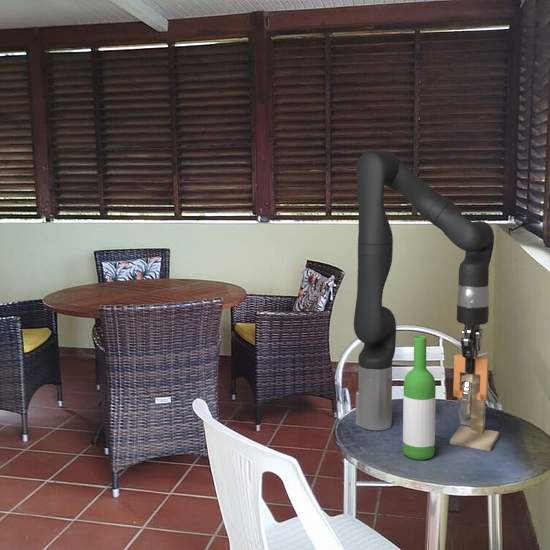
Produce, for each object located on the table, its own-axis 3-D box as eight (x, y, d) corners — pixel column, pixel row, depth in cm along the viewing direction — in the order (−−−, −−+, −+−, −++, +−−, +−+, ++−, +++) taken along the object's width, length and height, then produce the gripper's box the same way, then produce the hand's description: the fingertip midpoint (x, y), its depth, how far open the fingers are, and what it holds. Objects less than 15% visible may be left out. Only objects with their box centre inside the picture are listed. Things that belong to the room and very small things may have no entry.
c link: (453, 396, 168) (454, 355, 166) (455, 394, 169) (456, 353, 168) (485, 401, 164) (487, 359, 162) (487, 398, 165) (488, 357, 164)
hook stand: (447, 448, 169) (448, 371, 166) (460, 429, 181) (462, 358, 178) (487, 455, 164) (490, 377, 161) (498, 435, 176) (500, 362, 174)
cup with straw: (452, 416, 191) (454, 348, 188) (485, 419, 189) (487, 350, 186) (452, 427, 183) (454, 356, 180) (486, 429, 181) (489, 358, 178)
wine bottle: (396, 451, 167) (397, 335, 163) (421, 446, 170) (423, 332, 166) (415, 463, 160) (416, 342, 156) (441, 457, 163) (443, 338, 159)
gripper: (464, 297, 171) (462, 363, 173) (450, 306, 159) (448, 377, 161) (494, 299, 167) (492, 366, 170) (482, 309, 155) (480, 381, 158)
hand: (470, 371), depth 165 cm, fingers closed on c link, 2 cm apart
